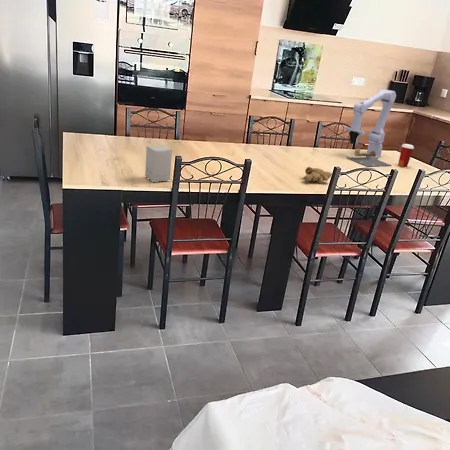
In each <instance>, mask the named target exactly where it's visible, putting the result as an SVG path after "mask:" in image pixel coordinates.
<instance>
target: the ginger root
mask: <svg viewBox="0 0 450 450" xmlns="http://www.w3.org/2000/svg"><path fill="white" fill-rule="evenodd" d="M305 174H306V175H304V176H303V177H302V178H303V180H304V181H306V182H317V183H319V184H323V183H324V181H325V182H327V181H329V179H331V177H332V176H333V173H332V172H329V171H325V170H323V169H321V168H318V167H317V168H316V167H314V168H313V167H310V166H308V167H306V168H305Z"/></svg>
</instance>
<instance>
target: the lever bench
mask: <svg viewBox="0 0 450 450" xmlns="http://www.w3.org/2000/svg"><path fill="white" fill-rule="evenodd" d="M346 159H347V160H350V161H352V162H354V163H357V164H359V165H362V166H364V167H365V168H375V167H377V168H378V167H380V166H381V167H392V164H390V163H386V162H385V161H381V160H379V157H377V156H354V157H346ZM381 167H380V168H381Z"/></svg>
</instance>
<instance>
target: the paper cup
mask: <svg viewBox="0 0 450 450" xmlns="http://www.w3.org/2000/svg"><path fill="white" fill-rule="evenodd" d="M414 149H415V147H414V145H412V144H410V143H409V144H408V143H403V144H402V145H401V149H400V153H399V154H400V155H399V159H398V163H397V166H398V167H401V168H405V167H406V168H407V167H408V165H409V163H410V160H411V157H412V153H413V151H414Z"/></svg>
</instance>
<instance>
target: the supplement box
mask: <svg viewBox="0 0 450 450" xmlns="http://www.w3.org/2000/svg"><path fill="white" fill-rule="evenodd" d="M145 151H146V154H145V156H146V157H145V174H144V175H145V176H146V177H147V178H149V179H150V180H151V181H152V182H151V181H150V180H149V179H148V180H149V181H150V182H151V183H153V182H155V183H160V182H159V181H168V180H170V181H171V171H172V156H173V155H172V154H173V150H172V148H171V149H170V148H169V147H167V146H165V145H147V146H146V149H145ZM145 176H144V177H145ZM146 177H145V178H146ZM147 178H146V179H147ZM168 182H169V181H168Z"/></svg>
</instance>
